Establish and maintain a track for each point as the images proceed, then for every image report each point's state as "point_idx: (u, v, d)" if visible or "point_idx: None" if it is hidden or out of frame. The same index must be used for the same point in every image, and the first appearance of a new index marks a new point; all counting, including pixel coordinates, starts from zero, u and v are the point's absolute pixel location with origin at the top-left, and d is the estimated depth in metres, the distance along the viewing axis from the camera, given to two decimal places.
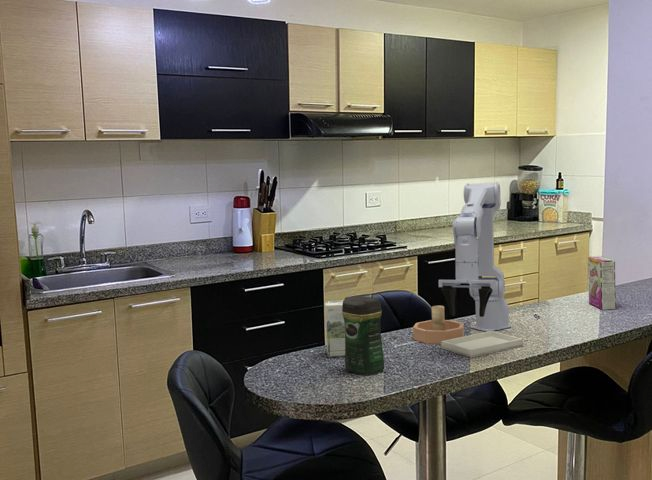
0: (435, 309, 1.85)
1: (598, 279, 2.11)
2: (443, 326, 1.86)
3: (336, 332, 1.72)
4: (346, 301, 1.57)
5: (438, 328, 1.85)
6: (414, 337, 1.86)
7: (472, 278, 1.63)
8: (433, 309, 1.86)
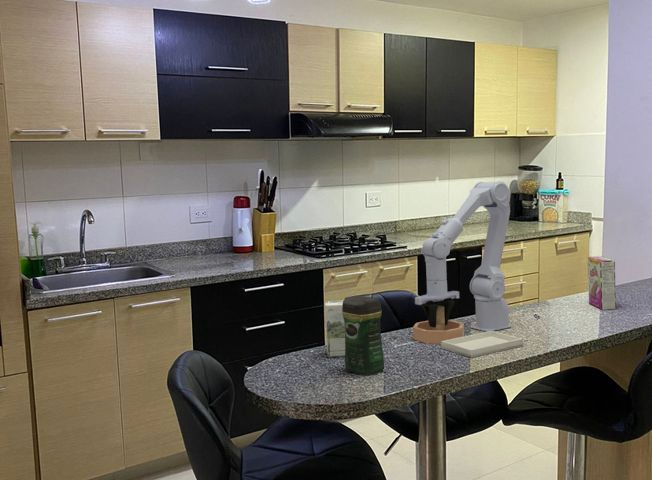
0: None
1: (598, 279, 2.11)
2: (443, 326, 1.86)
3: (336, 332, 1.72)
4: (346, 301, 1.57)
5: (438, 328, 1.85)
6: (414, 337, 1.86)
7: None
8: None
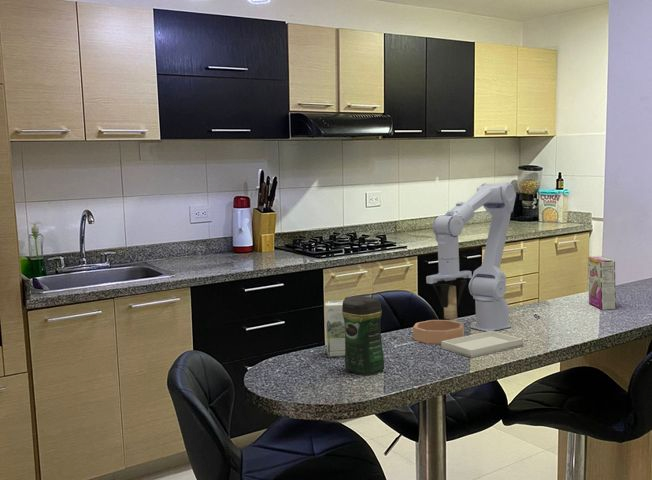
0: None
1: (598, 279, 2.11)
2: (455, 306, 1.81)
3: (336, 332, 1.72)
4: (346, 301, 1.57)
5: (450, 308, 1.81)
6: (414, 337, 1.86)
7: None
8: None
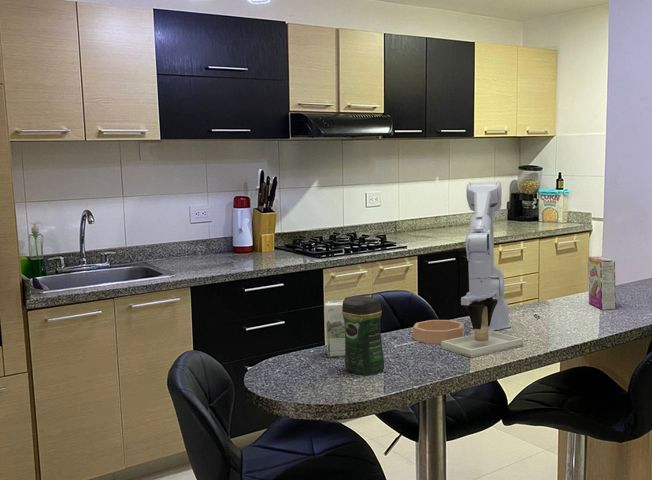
0: None
1: (598, 279, 2.11)
2: (487, 327, 1.73)
3: (336, 332, 1.72)
4: (346, 301, 1.57)
5: (483, 330, 1.72)
6: (414, 337, 1.86)
7: (469, 291, 1.73)
8: None
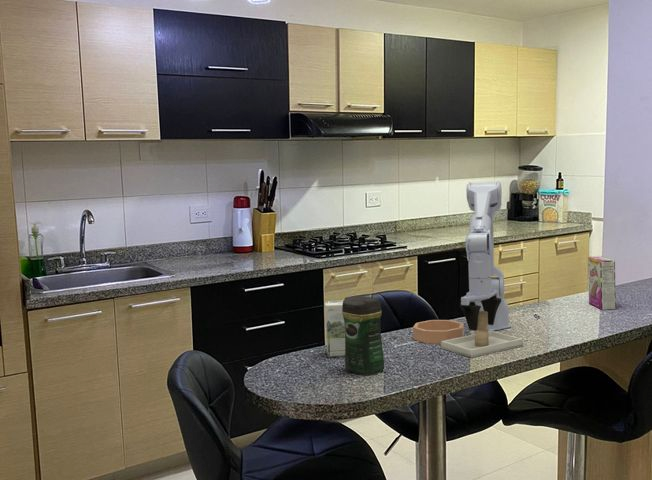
0: (480, 315, 1.72)
1: (598, 279, 2.11)
2: (487, 333, 1.73)
3: (336, 332, 1.72)
4: (346, 301, 1.57)
5: (483, 335, 1.72)
6: (414, 337, 1.86)
7: (469, 291, 1.73)
8: None
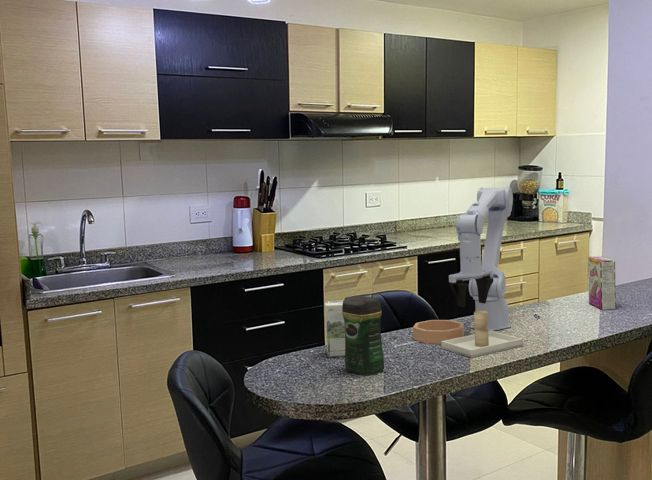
0: (480, 315, 1.72)
1: (598, 279, 2.11)
2: (487, 333, 1.73)
3: (336, 332, 1.72)
4: (346, 301, 1.57)
5: (483, 335, 1.72)
6: (414, 337, 1.86)
7: None
8: (477, 315, 1.72)
